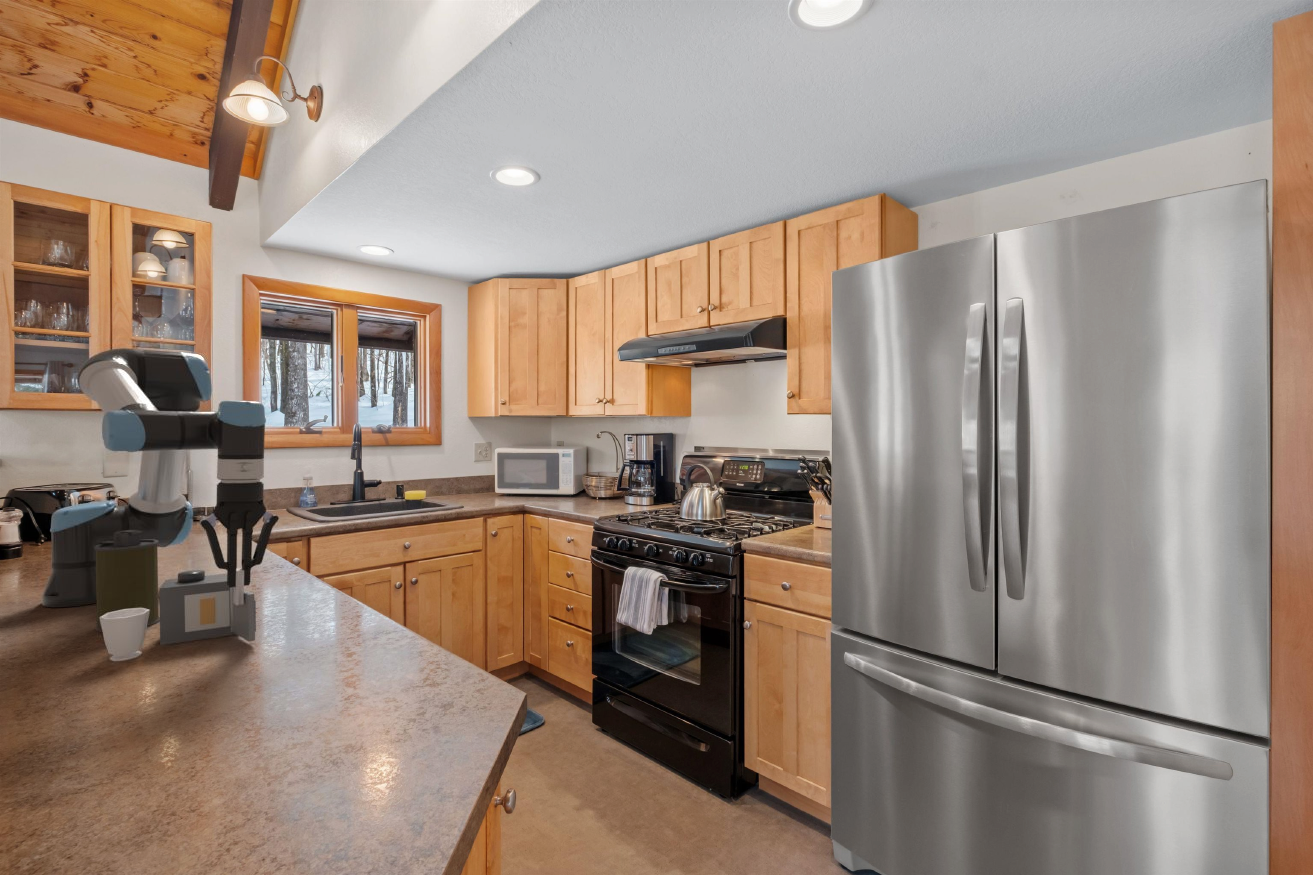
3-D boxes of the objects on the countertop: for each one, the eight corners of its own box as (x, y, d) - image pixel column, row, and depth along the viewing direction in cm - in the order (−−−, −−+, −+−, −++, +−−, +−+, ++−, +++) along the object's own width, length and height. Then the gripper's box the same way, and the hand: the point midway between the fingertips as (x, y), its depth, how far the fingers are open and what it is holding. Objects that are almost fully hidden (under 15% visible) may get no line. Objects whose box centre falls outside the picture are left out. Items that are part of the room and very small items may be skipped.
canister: (172, 617, 137) (171, 527, 137) (127, 633, 127) (126, 535, 126) (127, 616, 138) (126, 526, 138) (79, 631, 128) (77, 534, 127)
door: (248, 641, 119) (247, 594, 118) (229, 631, 125) (228, 586, 125) (256, 639, 120) (256, 593, 120) (238, 629, 126) (237, 585, 126)
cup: (100, 667, 109) (99, 621, 109) (100, 651, 116) (99, 608, 116) (151, 657, 114) (150, 613, 113) (148, 643, 121) (147, 601, 121)
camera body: (166, 633, 127) (165, 572, 126) (243, 622, 133) (242, 564, 133) (159, 645, 119) (158, 581, 119) (241, 634, 126) (240, 572, 126)
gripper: (203, 483, 113) (200, 613, 113) (283, 481, 122) (280, 601, 122) (196, 480, 118) (194, 604, 118) (274, 478, 127) (271, 594, 127)
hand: (238, 603), depth 120 cm, fingers closed
